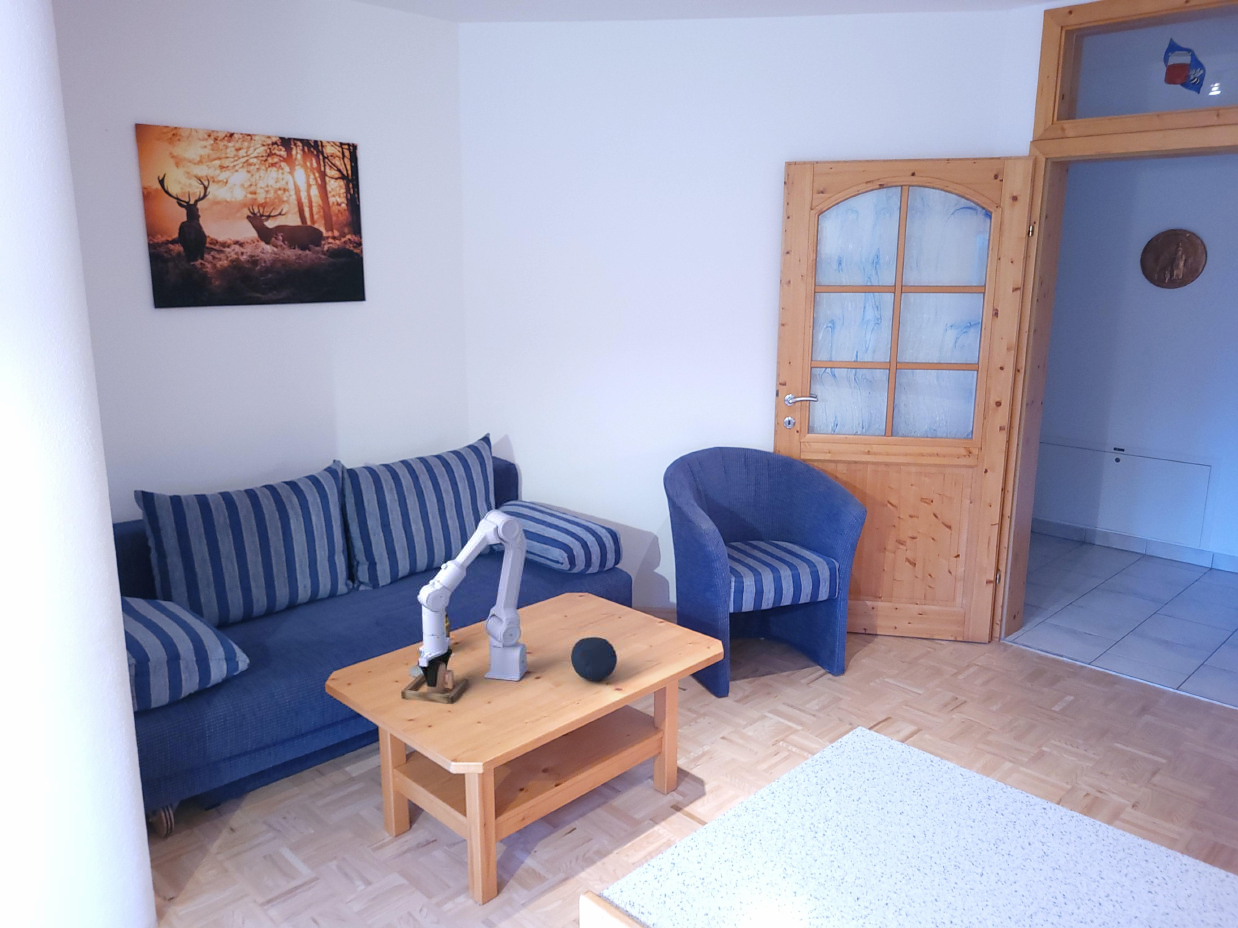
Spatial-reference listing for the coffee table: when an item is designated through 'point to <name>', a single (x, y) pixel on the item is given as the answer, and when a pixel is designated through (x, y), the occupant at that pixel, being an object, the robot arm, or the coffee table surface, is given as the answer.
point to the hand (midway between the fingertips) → (436, 681)
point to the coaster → (415, 671)
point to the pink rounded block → (442, 680)
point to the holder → (432, 697)
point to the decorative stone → (593, 658)
